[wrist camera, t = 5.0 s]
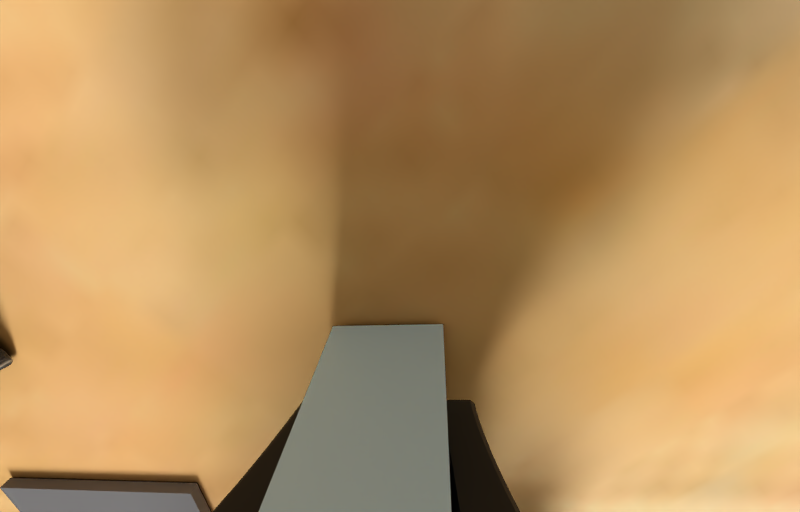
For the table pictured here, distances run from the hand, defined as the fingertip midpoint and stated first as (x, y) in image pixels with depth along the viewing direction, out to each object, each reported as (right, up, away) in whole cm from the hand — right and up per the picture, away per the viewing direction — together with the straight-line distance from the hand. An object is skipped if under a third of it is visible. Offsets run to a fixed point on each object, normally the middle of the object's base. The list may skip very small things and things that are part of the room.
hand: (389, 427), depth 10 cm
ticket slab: (0, -2, +2) cm, 3 cm away
